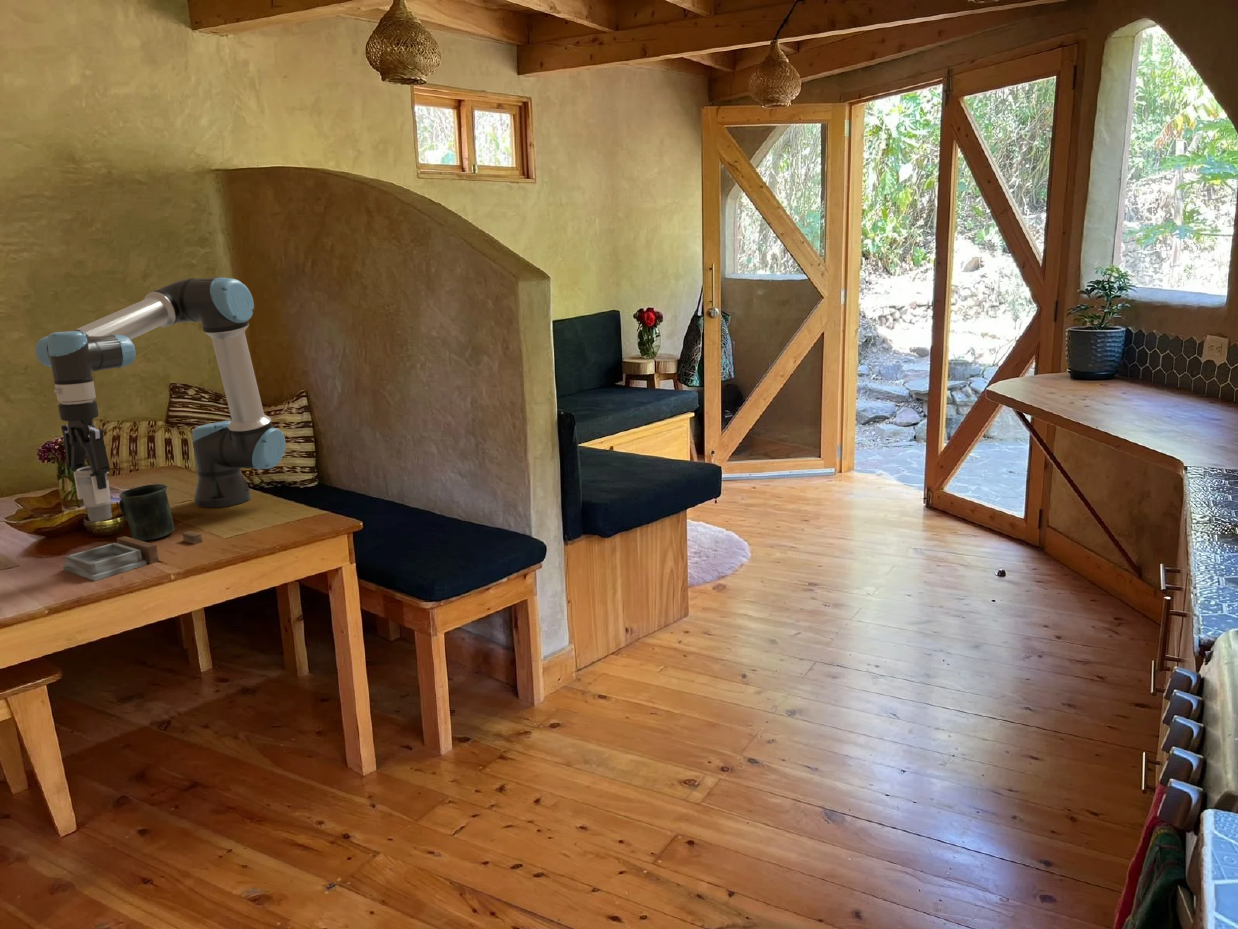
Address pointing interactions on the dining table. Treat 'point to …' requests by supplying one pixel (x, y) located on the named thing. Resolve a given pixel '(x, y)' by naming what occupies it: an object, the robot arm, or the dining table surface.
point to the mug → (147, 511)
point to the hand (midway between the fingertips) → (93, 500)
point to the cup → (94, 510)
